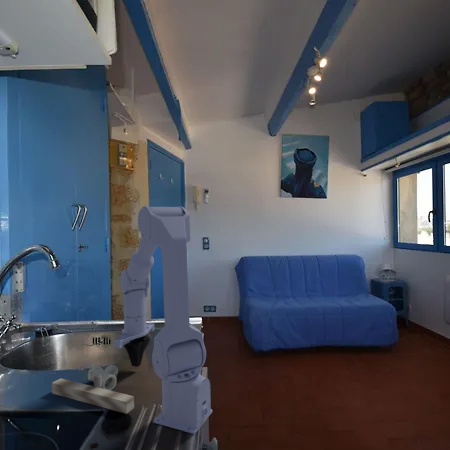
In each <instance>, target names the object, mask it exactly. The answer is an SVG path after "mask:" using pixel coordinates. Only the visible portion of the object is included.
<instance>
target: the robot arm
mask: <svg viewBox="0 0 450 450" xmlns="http://www.w3.org/2000/svg"><path fill="white" fill-rule="evenodd" d="M137 226H138V229H139V232H140V235H141V237H140V241H139V244H138V250H136V251H135V252H133V253H132V255H131V258H130V260H129V262H128V265H127V268H125V269H124V270H122V271H121V272H120V276H119V286H120V290H121V292H122V293H123V324H124V326H123V328H124V329H122V330H121V334H120V335H119V336H118V337H117V338H115V339H113V348H114V349H122V348H123V347H124V349H125V350H126V353H127V355H128V357H129V361H130V364H131V366H132V367H136V368H138V367H139V366H141V365H142V360H143V356H144V353H145V350H146V347H147V345H148V343H149V341H150V338H149V336H146V335H147V334H148V333H150V332H154V331H155V323H151V322H148V323H147V299H146V298H147V297H148V291H149V287H150V280H149V279H150V278H149V275H150V272H151V270H152V269H153V266H154V264H155V258H154V256H153V255H154V253H155V251H156V250H157V248H158V247H159V248H160V250H161V257H162V258H161V259H162V261H161V262H162V282H163V284H162V285H163V287H162V288H163V290H162V291H163V309H164V310H163V313H164V314H163V315H164V326H163V327H162V328H161V330H159V332H158V333H157V334H156V335H155V336H154V339H153V349H152V354H151V362H152V367H153V371H154V373H155V375H156V376H157V377H159V378H160V379H161V399H162V401H161V403H162V407H161V408H162V412H160V413H159V414H158V415H157V416H156V417H155V418H154V419H153V423H154V424H157V425H160V426H161V425H162V426H164V427H169V428H172V429H174V430H179V431H182V432H186V433H190V434H196V433H197V432H198V431H199V429H201V427H202V426H203V425H204V423H205V422H206V421H207V419H208V418H209V417H210V416H211V414H212V413H213V409H212V407H211V399H212V398H211V395H212V394H211V382H210V379H209V378H207V377H205V376H203V375H202V374H200V373H201V367H203V366H204V365H205V362H206V359H207V349H206V347H205V343H204V337H203V332H202V331H201V330H200V329H198V328H197V327H195V326H194V325H192V324H191V323H190V302H189V279H188V277H189V276H188V254H187V253H188V251H187V249H188V248H187V244H188V243H189V242H190V241H191V219H190V213H188V211H187V210H186V208H185V207H184V206H180V205H179V206H147V205H143V206H141V208H140V209H139V211H138V214H137Z"/></svg>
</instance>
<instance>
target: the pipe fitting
mask: <svg viewBox="0 0 450 450" xmlns="http://www.w3.org/2000/svg"><path fill="white" fill-rule="evenodd" d="M95 375H102V389H106V390H110V391H113V389H114V388H115V387H116V386H117V376H118V375H119V369H118V367H117V366H116V365H115V364H110V365H107V367H105V369H104V368H102V367H100V366H97V365H93V366H92V367H90V369H89V370H88V372H87V380H88V381H90V382H92V383H94V376H95Z"/></svg>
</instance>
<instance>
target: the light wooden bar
mask: <svg viewBox="0 0 450 450" xmlns="http://www.w3.org/2000/svg"><path fill="white" fill-rule="evenodd" d="M51 394H52V395H57V396H61V397H63V398H68V399H71V400H75V401H78V402H82V403H86V404H89V405H94V406H97V407H100V408H104V409H108V410H111V411H115V412H118V413H122V414H125V415H127V414H129V413H130V412H131V411H133V409H135V396H134V395H129V394H127V393H122V392H117V391H114V390H106V389H102V375H95V376H94V382H93V385H89V384H86V383H81V382H78V381H77V382H76V381H74V380H69V379H64V378H61V377H60V378H59V379H57V380H55V381H53V382H51Z"/></svg>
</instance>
